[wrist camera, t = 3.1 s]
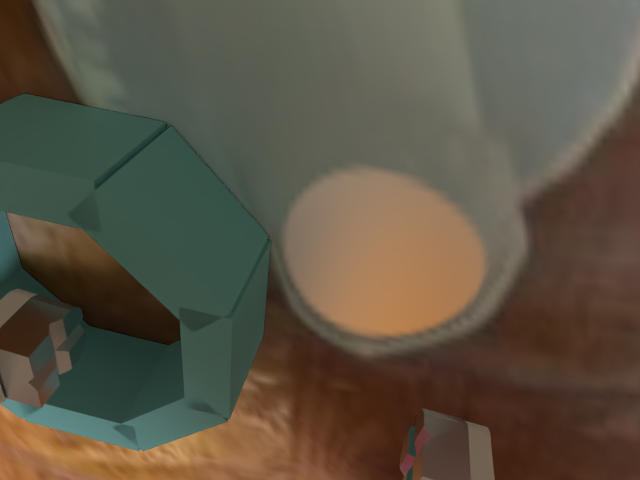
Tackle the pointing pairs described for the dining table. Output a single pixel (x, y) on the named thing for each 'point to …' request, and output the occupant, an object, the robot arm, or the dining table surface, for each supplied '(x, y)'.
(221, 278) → the ring
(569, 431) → the dining table surface
